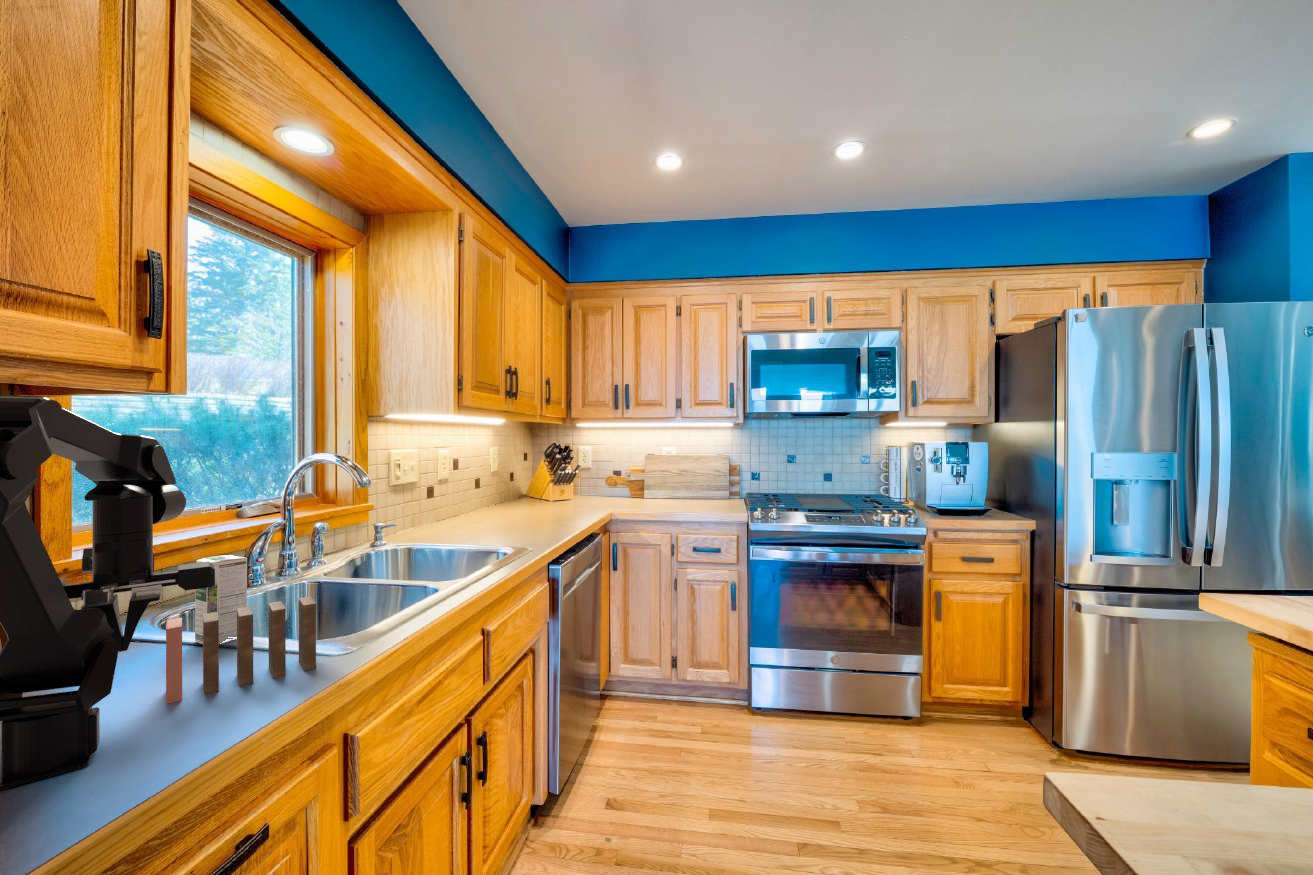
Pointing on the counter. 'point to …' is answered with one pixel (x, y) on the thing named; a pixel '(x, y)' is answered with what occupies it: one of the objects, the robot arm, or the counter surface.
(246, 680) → the domino
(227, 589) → the syrup box
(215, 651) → the domino
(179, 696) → the domino
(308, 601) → the domino
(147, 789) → the counter surface
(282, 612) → the domino
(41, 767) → the robot arm
